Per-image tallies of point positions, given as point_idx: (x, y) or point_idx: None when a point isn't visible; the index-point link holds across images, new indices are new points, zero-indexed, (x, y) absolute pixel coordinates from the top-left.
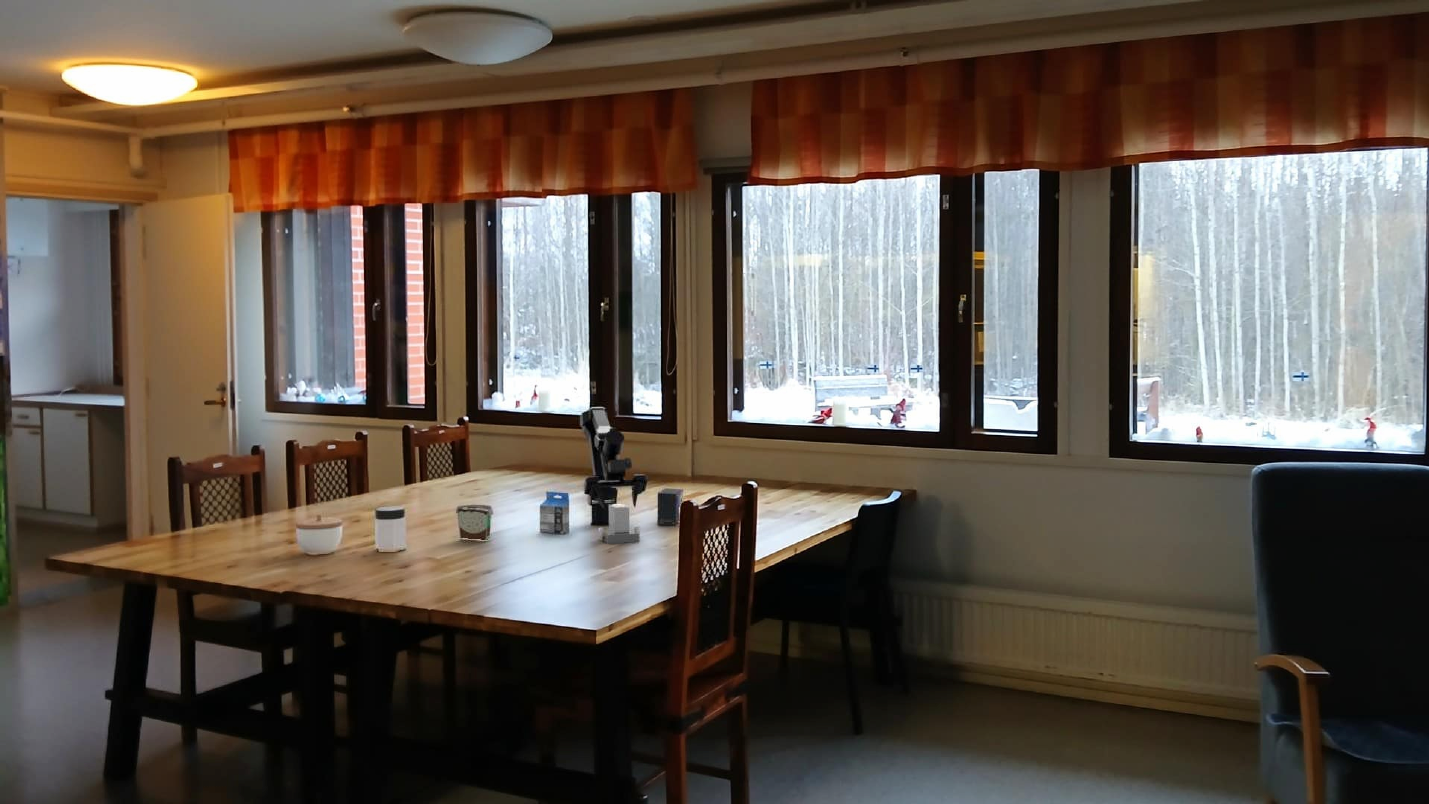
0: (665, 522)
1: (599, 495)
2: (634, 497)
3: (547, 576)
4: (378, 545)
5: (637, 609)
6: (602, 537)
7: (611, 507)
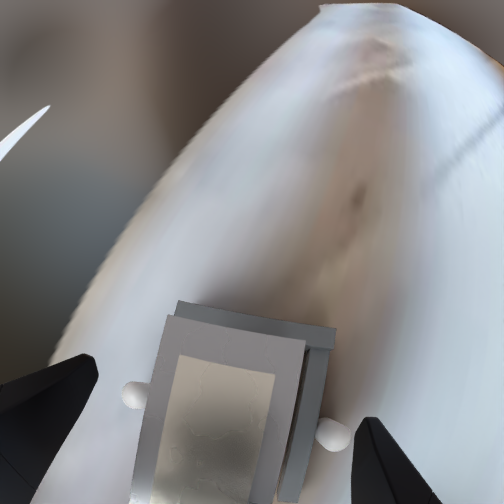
0: None
1: (438, 502)
2: (41, 384)
3: (472, 96)
4: None
5: (364, 4)
6: (323, 420)
7: (282, 456)
